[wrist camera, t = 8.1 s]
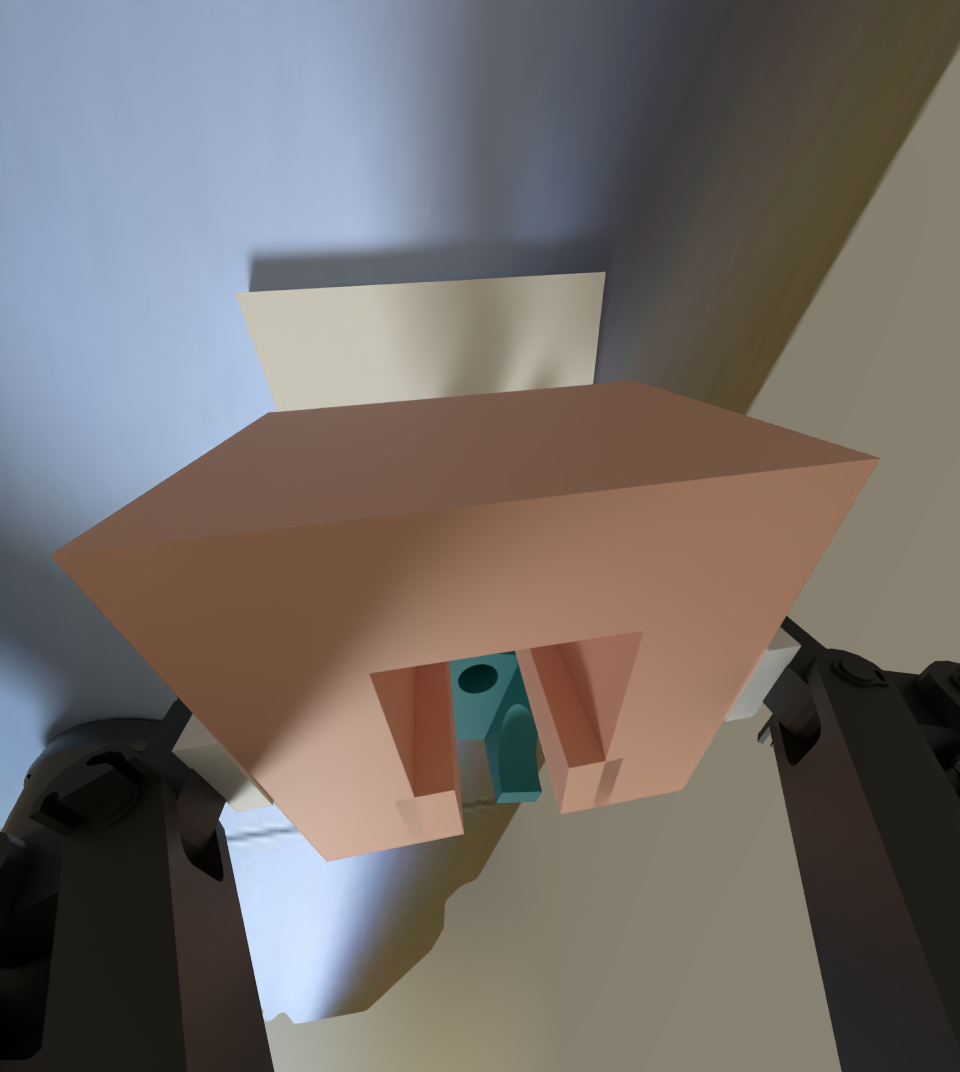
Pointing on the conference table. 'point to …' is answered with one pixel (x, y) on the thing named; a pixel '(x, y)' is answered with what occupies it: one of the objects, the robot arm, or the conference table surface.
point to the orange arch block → (468, 589)
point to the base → (425, 338)
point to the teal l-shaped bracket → (498, 721)
